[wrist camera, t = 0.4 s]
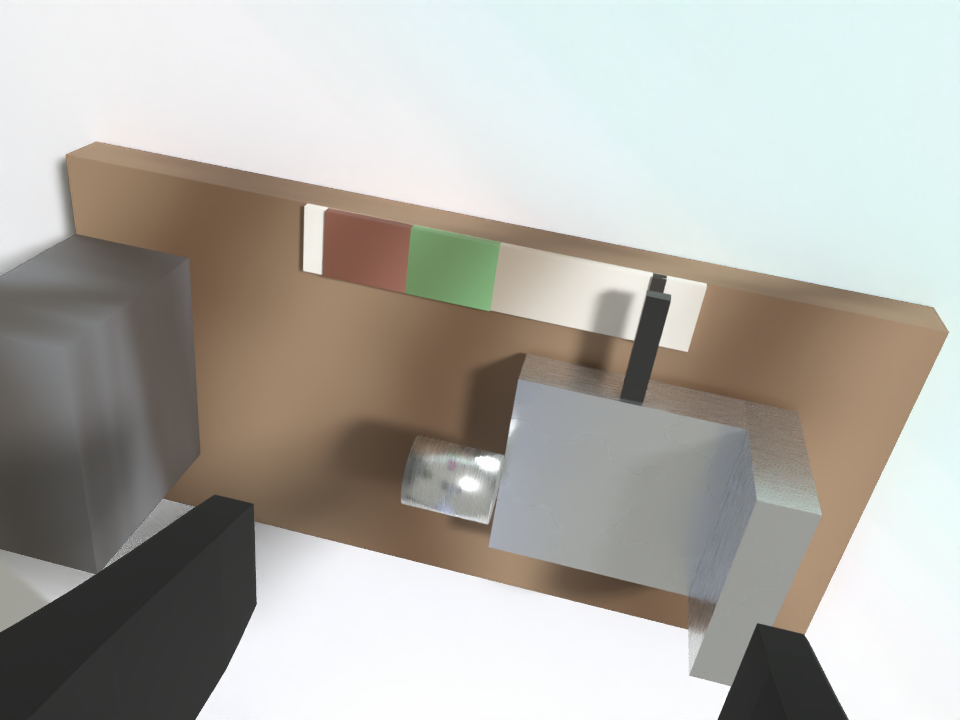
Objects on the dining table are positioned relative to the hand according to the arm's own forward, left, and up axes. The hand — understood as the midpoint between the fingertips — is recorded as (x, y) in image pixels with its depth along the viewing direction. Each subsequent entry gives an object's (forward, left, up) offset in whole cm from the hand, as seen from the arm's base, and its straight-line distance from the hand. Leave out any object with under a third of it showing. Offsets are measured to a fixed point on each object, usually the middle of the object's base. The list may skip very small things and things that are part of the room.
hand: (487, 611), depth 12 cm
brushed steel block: (-2, -1, -8) cm, 9 cm away
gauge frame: (-3, +2, -10) cm, 10 cm away
